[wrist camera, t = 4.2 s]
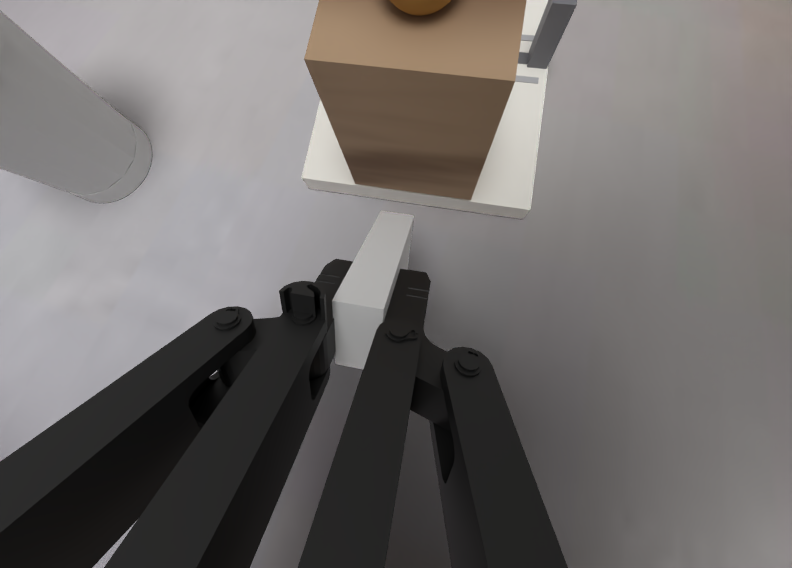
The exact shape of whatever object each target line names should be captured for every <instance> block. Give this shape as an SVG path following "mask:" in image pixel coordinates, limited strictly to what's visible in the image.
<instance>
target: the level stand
mask: <svg viewBox="0 0 792 568" xmlns="http://www.w3.org/2000/svg"><path fill="white" fill-rule="evenodd" d="M576 5H577V0H526V8H525V15H524V22H523V29H522V36H521V43H520V50H519V57H518V65H517V72H516V79H515V83H514V86H513V88H512V91H511V94H510V96H509V99H508V102H507V104H506V107H505V110H504V112H503V115H502V118H501V120H500V123H499V126H498V129H497V131H496V134H495V137H494V139H493V142H492V145H491V147H490V150H489V153H488V155H487V158H486V161H485V163H484V166H483V169H482V171H481V174H480V177H479V179H478V182H477V185H476V187H475V190H474V193H473V196H472V198H471V200H466V199H459V198H452V197H445V196H438V195H431V194H424V193H416V192H409V191H402V190H395V189H388V188H381V187H374V186H366V185H359V184H355V182H354V180H353V177H352V175H351V172H350V170H349V168H348V165H347V163H346V160H345V158H344V155H343V153H342V150H341V148H340V146H339V143H338V141H337V138H336V136H335V133H334V131H333V128H332V126H331V124H330V121H329V119H328V116H327V114H326V111H325V109H324V106H323V104H322V101H321V99H320V103H319V107H318V111H317V115H316V119H315V124H314V128H313V132H312V136H311V140H310V144H309V148H308V153H307V157H306V161H305V165H304V169H303V173H302V177H301V178H302V179H303V181H304V182H305V183H306V185H307V186H308V188H309V189H315V190H322V191H329V192H336V193H343V194H350V195H357V196H364V197H371V198H378V199H385V200H392V201H398V202H405V203H412V204H419V205H426V206H433V207H440V208H447V209H454V210H461V211H468V212H475V213H482V214H489V215H496V216H503V217H510V218H517V219H523V218H524V217H525V216H526V215H527V214H528V212H529V211H530V210H531V202H532V194H533V186H534V178H535V170H536V162H537V154H538V146H539V138H540V129H541V121H542V113H543V105H544V97H545V89H546V81H547V73H548V65H549V62H550V60H551V58H552V56H553V54H554V52H555V50H556V48H557V45H558V43H559V41H560V39H561V37H562V35H563V33H564V31H565V28H566V26H567V24H568V22H569V20H570V18H571V16H572V14H573V12H574V9H575V7H576Z"/></svg>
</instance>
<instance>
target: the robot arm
mask: <svg viewBox="0 0 792 568" xmlns="http://www.w3.org/2000/svg"><path fill="white" fill-rule="evenodd" d="M413 221H414V215H408V214H401V213H395V212H388V211H380V213H379V215H378V217H377V219H376V221H375V222H374V224H373V226H372V228H371V230H370V232H369V233H368V235H367V237H366V239H365V241H364V243H363V245H362V246H361V248H360V250H359V252H358V254H357V256H356V257H355V259H354V261H353V262H352V261H346V260H340V259H335V260H333V261H332V262H330V263H328V264H327V265H326V266H325V267H324V269H323V270H322V272H321V275H319V276H318V278H317V279H316V281H315V282H310V281H299V282H294V283H291V284H288V285H286V286H284V287H283V288H282V289H281V290H280V291H279V293H280V299H281V305H282V311H283V313H282V315H281V316H280V317H276V318H264V319H253V316H252V314H251V312H250V311H249V310H247V309H246V308H242V307H238V306H237V307H226V308H223V309H219V310H217V311H215V312H213V313H211V314H210V315H208V316H207V317H205V318H204V319H203V320H201V321H200V322H198V323H197V324H195V325H194V326H193V327H191V328H190V329H188V330H187V331H185V332H184V333H183V334H181V335H180V336H178V337H177V338H176V339H174V340H173V341H171V342H170V343H168V344H167V345H166V346H164V347H163V348H161V349H160V350H158V351H157V352H156V353H154V354H153V355H151V356H150V357H149V358H147V359H146V360H144V361H143V362H141V363H140V364H139V365H137V366H136V367H134V368H133V369H131V370H130V371H129V372H127V373H126V374H124V375H123V376H122V377H120V378H119V379H117V380H116V381H114V382H113V383H112V384H110V385H109V386H107V387H106V388H104V389H103V390H102V391H100V392H99V393H97V394H96V395H95V396H93V397H92V398H90V399H89V400H87V401H86V402H85V403H83V404H82V405H80V406H79V407H77V408H76V409H75V410H73V411H72V412H70V413H69V414H67V415H66V416H65V417H63V418H62V419H60V420H59V421H58V422H56V423H55V424H53V425H52V426H50V427H49V428H48V429H46V430H45V431H43V432H42V433H40V434H39V435H38V436H36V437H35V438H33V439H32V440H31V441H29V442H28V443H26V444H25V445H23V446H22V447H21V448H19V449H18V450H16V451H15V452H13V453H12V454H11V455H9V456H8V457H6V458H5V459H4V460H2V461H1V462H0V568H92V567H93V566H94V565H95V564H96V563H97V562H98V561H99V560H100V559H101V558H102V557H103V556H104V554H105V553H106V552H107V551H108V550H109V549H110V548H111V547H112V546H113V545H114V544H115V543H116V542H117V541H118V540H119V539H120V537H121V536H122V535H123V534H124V533H125V532H126V531H127V530H128V529H129V528H130V527H131V526H132V525H133V524H134V523H135V522H136V523H135V524H134V526H133V527H132V529H131V530H130V531H129V533H128V534H127V536H126V537H125V539H124V540H123V541H122V543H121V544H120V546H119V547H118V549H117V550H116V551H115V553H114V554H113V556H112V557H111V559H110V560H109V561H108V563H107V564H106V566H105V567H104V568H250V566H251V563H252V561H253V558H254V556H255V554H256V551H257V549H258V547H259V544H260V542H261V539H262V537H263V535H264V532H265V530H266V527H267V525H268V523H269V520H270V518H271V516H272V513H273V511H274V508H275V506H276V504H277V501H278V499H279V496H280V494H281V492H282V489H283V487H284V485H285V482H286V480H287V477H288V475H289V473H290V470H291V468H292V465H293V463H294V461H295V458H296V456H297V454H298V451H299V449H300V446H301V444H302V442H303V439H304V437H305V434H306V432H307V430H308V427H309V425H310V423H311V420H312V418H313V415H314V413H315V411H316V408H317V406H318V403H319V401H320V399H321V396H322V394H323V392H324V389H325V387H326V384H327V382H328V380H329V376H330V363H331V361H332V359H333V356H334V354H335V364H337V365H342V366H347V367H353V368H358V369H363V372H362V375H361V378H360V381H359V384H358V387H357V390H356V393H355V396H354V399H353V402H352V405H351V408H350V411H349V414H348V418H347V421H346V424H345V427H344V430H343V433H342V436H341V439H340V442H339V445H338V448H337V451H336V454H335V457H334V460H333V463H332V466H331V469H330V472H329V475H328V478H327V481H326V484H325V487H324V490H323V493H322V496H321V499H320V502H319V505H318V508H317V511H316V514H315V517H314V520H313V523H312V526H311V529H310V532H309V535H308V539H307V542H306V545H305V548H304V551H303V554H302V557H301V560H300V563H299V566H298V568H384V566H385V560H386V554H387V548H388V542H389V535H390V529H391V523H392V517H393V511H394V505H395V499H396V492H397V486H398V480H399V474H400V468H401V462H402V456H403V450H404V443H405V437H406V431H407V425H408V419H409V413H410V410H412V411H414V412H416V413H417V414H419V415H421V416H423V417H425V418H426V419H428V420H429V423H430V429H431V436H432V442H433V449H434V455H435V462H436V468H437V475H438V481H439V488H440V494H441V501H442V507H443V514H444V520H445V527H446V533H447V540H448V546H449V553H450V559H451V566H452V568H568V567H567V564H566V562H565V559H564V556H563V554H562V551H561V548H560V546H559V543H558V540H557V538H556V535H555V532H554V530H553V527H552V524H551V522H550V519H549V516H548V514H547V511H546V508H545V506H544V503H543V500H542V498H541V495H540V492H539V490H538V487H537V484H536V482H535V479H534V476H533V474H532V471H531V468H530V466H529V463H528V460H527V458H526V455H525V452H524V450H523V447H522V444H521V442H520V439H519V436H518V434H517V431H516V428H515V426H514V423H513V420H512V418H511V415H510V412H509V409H508V407H507V404H506V401H505V399H504V396H503V393H502V391H501V388H500V385H499V383H498V380H497V377H496V375H495V372H494V369H493V367H492V365H491V363H490V361H489V360H488V358H487V357H485V356H484V355H483V354H482V353H481V352H479V351H476V350H474V349H472V348H466V347H458V348H453V349H452V350H450V351H448V352H447V351H444V350H442V349H440V348H438V347H437V346H435V345H433V344H432V343H431V342H430V341H429V340H428V339H427V338H426V336H425V334H424V331H423V325H424V319H425V313H426V307H427V300H428V294H429V288H430V282H431V281H430V279H429V277H428V275H427V273H425V272H418V271H412V270H407V269H408V263H409V255H410V246H411V238H412V230H413ZM216 370H217V372H216V373H215V374H214V375H212V374H213V373H214V372H215V371H216ZM211 375H212V376H211ZM138 518H139V519H138ZM137 519H138V520H137Z"/></svg>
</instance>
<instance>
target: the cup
mask: <svg viewBox="0 0 792 568" xmlns="http://www.w3.org/2000/svg"><path fill="white" fill-rule="evenodd" d="M151 161H152V148H151V144H150V141H149V139H148V137H147V135H146V134H145V133H144V132H143V131H142V130H141V129H140V128H139V127H137V126H136V125H135V124H133V123H132V122H131V121H130V120H128V119H127V118H126V117H124V116H123V115H121V114H120V113H118V112H117V111H116V110H115V109H114V108H113V107H112V106H110V105H109V104H108V103H107V102H106V101H105V100H103V99H102V98H101V97H100V96H99V95H98V94H96V93H95V92H94V91H93V90H92V89H91V88H90V87H88V86H87V85H86V84H85V83H84V82H83V81H81V80H80V79H79V78H78V77H77V76H76V75H74V74H73V73H72V72H71V71H70V70H69V69H68V68H66V67H65V66H64V65H63V64H62V63H61V62H59V61H58V60H57V59H56V58H55V57H54V56H52V55H51V54H50V53H49V52H48V51H47V50H46V49H44V48H43V47H42V46H41V45H40V44H39V43H37V42H36V41H35V40H34V39H33V38H32V37H30V36H29V35H28V34H27V33H26V32H25V31H24V30H22V29H21V28H20V27H19V26H18V25H17V24H15V23H14V22H13V21H12V20H11V19H10V18H8V17H7V16H6V15H5V14H4V13H3V12H2V11H0V169H3V170H6V171H9V172H12V173H14V174H17V175H20V176H23V177H26V178H29V179H32V180H35V181H37V182H40V183H43V184H46V185H49V186H52V187H55V188H58V189H61V190H63V191H66V192H69V193H71V194H73V195H76V196H78V197H81V198H83V199H85V200H88V201H91V202H95V203H109V202H114V201H117V200H120V199H122V198H124V197H126V196H127V195H129V194H130V193H132V192H133V191H134V190H135V189H136V188H137V187H138V186H139V185H140V184H141V183H142V182H143V180H144V179H145V177H146V175H147V173H148V171H149V169H150V166H151Z"/></svg>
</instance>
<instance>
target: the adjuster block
mask: <svg viewBox="0 0 792 568" xmlns="http://www.w3.org/2000/svg"><path fill="white" fill-rule="evenodd" d="M525 8H526V0H319V3H318V7H317V11H316V15H315V19H314V23H313V27H312V31H311V35H310V38H309V42H308V46H307V50H306V54H305V58H304V60H305V62H306V65H307V67H308V70H309V72H310V75H311V77H312V79H313V82H314V84H315V87H316V89H317V92H318V94H319V97H320V99H321V101H322V104H323V106H324V109H325V111H326V114H327V116H328V119H329V121H330V124H331V126H332V128H333V131H334V133H335V136H336V138H337V141H338V143H339V146H340V148H341V150H342V153H343V155H344V158H345V160H346V163H347V165H348V168H349V170H350V172H351V175H352V177H353V180H354V182H355V184H359V185H366V186H374V187H381V188H388V189H395V190H402V191H409V192H416V193H424V194H431V195H438V196H445V197H452V198H459V199H466V200H471V198H472V196H473V193H474V190H475V187H476V185H477V182H478V179H479V177H480V174H481V171H482V169H483V166H484V163H485V161H486V158H487V155H488V153H489V150H490V147H491V145H492V142H493V139H494V137H495V134H496V131H497V129H498V126H499V123H500V120H501V118H502V115H503V112H504V110H505V107H506V104H507V102H508V99H509V96H510V94H511V91H512V88H513V86H514V83H515V79H516V72H517V65H518V57H519V50H520V43H521V36H522V29H523V22H524V15H525Z"/></svg>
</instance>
